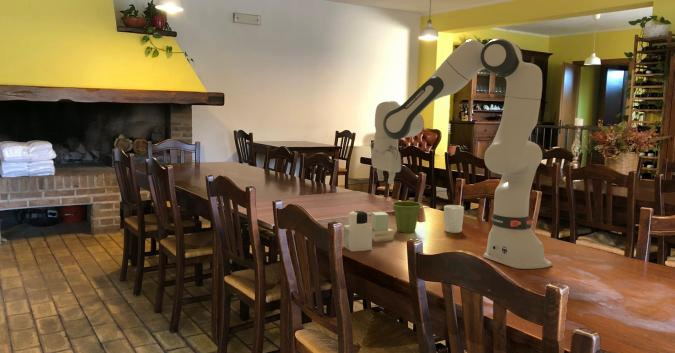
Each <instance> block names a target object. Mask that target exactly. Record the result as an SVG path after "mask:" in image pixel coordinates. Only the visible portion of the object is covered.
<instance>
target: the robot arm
mask: <svg viewBox="0 0 675 353" xmlns="http://www.w3.org/2000/svg"><path fill="white" fill-rule="evenodd" d="M483 70H486V71H488V72H490V73H492V74H495V75H497V76H499V77H502V78H504V79H505V83H506V86H505V87H506V90H505V95H504V96H505V97H504V101H503V102H504V103H503V108H502V109H503V110H502V115H501V119H500V123H499V126H498V130H497V131H496V134H495V136H494V138H493V140H492V143H491V144H490V145H489V146H488V148H486V150H485V153H484V156H483V157H484V158H483V160H484V165H485V166H486V168H487V169H488V170H489V171H490V172H491V173H494V174H498V175H501V179H500V181H499V183H498V185H497V186H496V188H495V190H494V197H493V198H494V201H493V204H494V205H493V213H492V215H491V224H492V226H491V229H490V231H489V232H488V236H487V237H488V238H487V243H486V244H487V245H486V251H485V252H484V253H483V258H485V259H489V260H491V261H494V262H497V263H500V264H503V265H505V266H508V267H511V268H513V269H523V270H533V269H534V270H535V269H543V268H549V267H552V266H553V263H552V262H551V261H550V260H548V259H547V258H545V248H544V247H545V246H544V244H543V242H542V241H541V240H540V239H539V238H538V236H537V235H536V234H535V233H534V231H533V230H532V225H534V223H533V222H534V220H531V218H530V215H529V212H530V196H531V190H532V185H533V181H534V178H535V176H536V173H537V169H538V167H539V165H540V164H541V163H542V161H543V151H542V149H541V147H540V146H539V144H537V143H535V142H534V141H531V140H529V138H530V136H531V134H532V132H533V130H534V129H535V127H536V126H537V124H538V119H539V114H540V109H541V108H540V107H541V100H542V92H543V72H542V69H541V68H540V66H538V65H537V64H534V63H532V62H526V61H524V54H523V51H522V49H521V48H520V47H519V46H518V45H517V44H516V43H514V42H513V41H511V40H508V39H505V38H494V39H491V40H490V41H488V42H487V43H486V44H483V43H482V42H481V41H478V40H476V39H467V40H466V41H464V42H463V43H461V44H460V45H459V46H458V47H457V48H455V49H454V50H453V51H452V52H451V53H449V56H448V57H446V59H445V60H444V61H443V62H441V64H440V65H439V66H438V68H436V70H434V72H433V73H432V74H431V76H429V78H427V80H426V81H425V82H424V83H423V84H422V85H421V86H420V87H418V88H417V89H416V91H414V92H413V93H412V95H410V97H409V98H408V99H406V101H404V102H403V103H402V104H399V103H398V102H397V101H395V100H390V101H387V100H386V101H383V102H380V103H378V104H377V106H376V108H375V114H374V128H375V133H374V140H373V141H372V142H371V143H370V150H371V165H372V168H374V169H376V174H377V180H378V181H380V182H381V181H382V182H383V181H384V180H385V176H384V174H383V173H384V171H386V172H388V179H387V184H390V185H393V184H394V182H395V177H396V173H400V172H401V170H402V156H401V152H399V140H401V139H403V138H404V139H406V138H412V137H416V136H418V135H420V134H421V133H422V132H423V130H424V127H425V121H424V118H423V117H424V116H422V115H421V113H422V112H423V111H424V110H426V108H427V107H428V106H429V105H430V104H431V103H433V102H434V101H436V100H438V99H441V98H444V97H447V96H451V95H454V94H457V93H458V92H459V91H460V90H462V89H463V88H464V87H466V86H467V85H468V84H469V82H470V81H471V80H472V79H473V78H474V77H475V76H476V75H477V74H478V73H479V72H481V71H483Z"/></svg>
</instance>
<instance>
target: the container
mask: <svg viewBox="0 0 675 353" xmlns="http://www.w3.org/2000/svg"><path fill="white" fill-rule="evenodd" d="M368 216H369V215H368V213H367V212H365V211H363V210H362V211H361V210H353V211H351V212H349V213H348V224H345V225H344V226H343V247H344V248H346V249H347V250H348V251H350V252H364V251H372V248H373V241H372V228H370V227H371V226H368Z"/></svg>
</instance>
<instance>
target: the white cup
mask: <svg viewBox="0 0 675 353" xmlns="http://www.w3.org/2000/svg"><path fill="white" fill-rule="evenodd" d="M464 211H465V206H464V205H463V206H462V205H459V204H458V205H457V204H446V205H444V206H443V214H444V215H443V218H444V219H443V220H444V221H443V222H444V231H445V232H447V233H455V234H457V233H462V230H463V222H464Z"/></svg>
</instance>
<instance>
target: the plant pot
mask: <svg viewBox="0 0 675 353" xmlns="http://www.w3.org/2000/svg"><path fill="white" fill-rule="evenodd" d="M391 205H392V207H393V211H394V216H395V224H396V231H397V232H399V233H401V232H402V233H403V234H407V233H408V234H411V233H414V232H416V227H417V222H418V217H419V213H420V209H421V206H422V205H423V204H422V203H421V202H417V201H405V200H403V201H402V200H401V201H399V200H398V201H393V202H392V203H391Z"/></svg>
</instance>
